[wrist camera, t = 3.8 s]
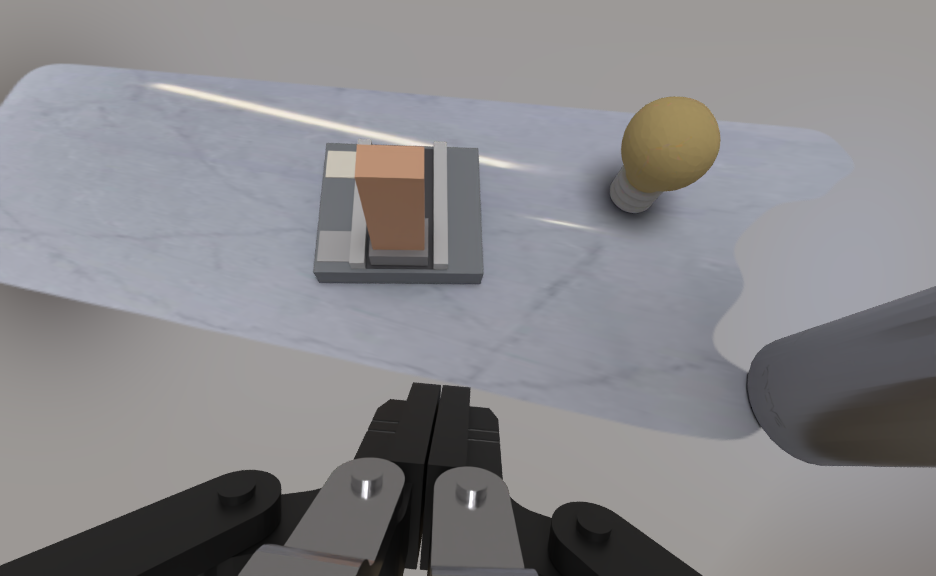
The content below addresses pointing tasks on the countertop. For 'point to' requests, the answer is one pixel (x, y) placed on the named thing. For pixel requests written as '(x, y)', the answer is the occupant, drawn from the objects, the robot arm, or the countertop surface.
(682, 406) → the countertop surface
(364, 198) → the lever
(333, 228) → the switch panel
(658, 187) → the light bulb
